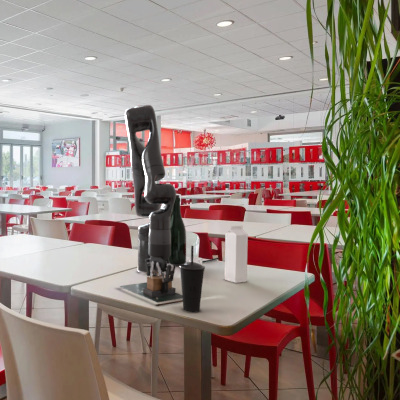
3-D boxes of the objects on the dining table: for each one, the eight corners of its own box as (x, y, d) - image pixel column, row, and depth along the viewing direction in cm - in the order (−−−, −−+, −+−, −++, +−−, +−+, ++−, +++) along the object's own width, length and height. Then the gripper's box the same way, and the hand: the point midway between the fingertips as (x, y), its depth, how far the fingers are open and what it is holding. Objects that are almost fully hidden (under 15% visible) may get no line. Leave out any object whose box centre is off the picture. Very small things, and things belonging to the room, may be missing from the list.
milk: (246, 281, 166) (248, 226, 165) (235, 283, 164) (236, 227, 163) (235, 278, 172) (237, 224, 171) (223, 279, 169) (225, 225, 168)
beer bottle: (159, 263, 202) (160, 194, 201) (172, 260, 209) (172, 194, 208) (177, 266, 195) (178, 195, 193) (190, 263, 202) (191, 194, 200)
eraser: (166, 290, 149) (166, 273, 148) (175, 294, 144) (175, 276, 144) (143, 294, 144) (143, 276, 144) (152, 297, 140) (152, 279, 139)
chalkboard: (147, 284, 161) (147, 281, 161) (190, 300, 140) (190, 297, 140) (116, 288, 155) (116, 285, 155) (157, 306, 134) (157, 303, 134)
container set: (190, 268, 190) (190, 256, 189) (202, 269, 188) (202, 257, 187) (181, 278, 172) (181, 264, 171) (194, 279, 169) (194, 266, 169)
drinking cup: (175, 306, 133) (176, 244, 132) (198, 306, 134) (199, 243, 133) (183, 314, 126) (184, 247, 125) (208, 313, 126) (209, 247, 125)
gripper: (182, 244, 139) (181, 294, 139) (155, 238, 151) (155, 285, 152) (164, 245, 135) (163, 297, 136) (138, 240, 148) (138, 287, 149)
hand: (159, 291), depth 144 cm, fingers closed on eraser, 5 cm apart
